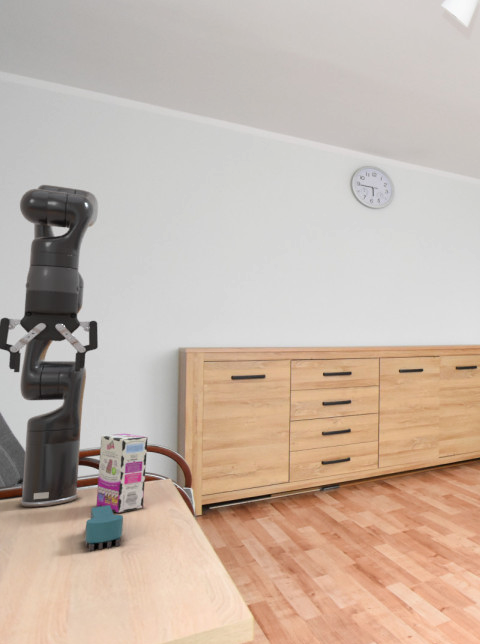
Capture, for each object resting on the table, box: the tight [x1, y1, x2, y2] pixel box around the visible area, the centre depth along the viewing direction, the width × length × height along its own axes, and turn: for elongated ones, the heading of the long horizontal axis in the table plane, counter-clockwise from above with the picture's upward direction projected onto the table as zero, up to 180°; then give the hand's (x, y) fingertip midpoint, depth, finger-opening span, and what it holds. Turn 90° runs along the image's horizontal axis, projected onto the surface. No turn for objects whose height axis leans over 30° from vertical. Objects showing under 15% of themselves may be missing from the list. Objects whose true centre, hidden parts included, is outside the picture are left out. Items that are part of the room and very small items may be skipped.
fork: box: [84, 537, 121, 552], centre depth 109 cm, size 16×5×1 cm, turn 45°
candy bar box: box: [95, 433, 149, 514], centre depth 129 cm, size 11×5×16 cm, turn 62°
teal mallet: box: [84, 505, 124, 543], centre depth 108 cm, size 14×5×4 cm, turn 45°
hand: (47, 371), depth 111 cm, fingers open, 8 cm apart
